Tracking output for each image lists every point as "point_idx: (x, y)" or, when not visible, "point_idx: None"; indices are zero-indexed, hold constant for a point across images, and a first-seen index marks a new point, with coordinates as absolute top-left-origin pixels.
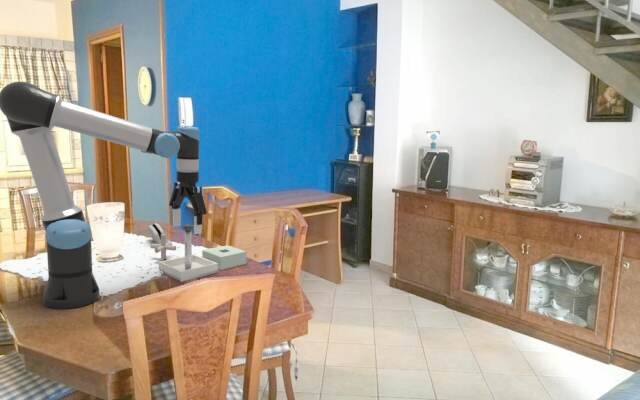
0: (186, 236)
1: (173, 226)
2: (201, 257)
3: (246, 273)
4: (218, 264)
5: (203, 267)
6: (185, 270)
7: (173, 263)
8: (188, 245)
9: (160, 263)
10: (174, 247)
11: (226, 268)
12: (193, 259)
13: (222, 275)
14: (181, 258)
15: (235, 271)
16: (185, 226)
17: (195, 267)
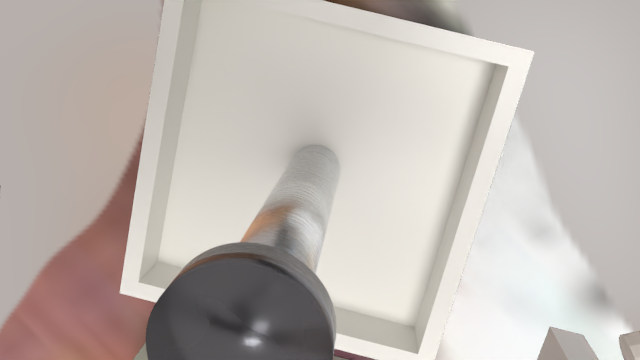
0: (253, 237)
1: (571, 334)
2: None
3: (2, 349)
4: None
5: (139, 170)
6: (173, 16)
7: (468, 168)
8: (258, 214)
9: (500, 43)
10: (630, 351)
11: None
12: (417, 333)
13: (83, 239)
14: (449, 246)
15: (80, 343)
16: (231, 293)
17: None
